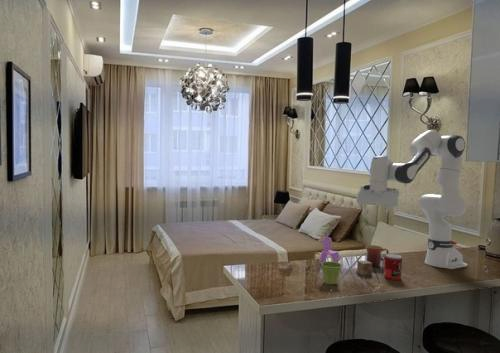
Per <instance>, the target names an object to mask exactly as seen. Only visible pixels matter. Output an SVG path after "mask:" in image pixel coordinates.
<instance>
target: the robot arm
mask: <svg viewBox="0 0 500 353" xmlns="http://www.w3.org/2000/svg"><path fill="white" fill-rule="evenodd" d="M465 147H466V141H465V139H464V138H463V137H462V136H460V135H456V134H451V135H450V134H449V135H447V134H446V135H441V133H440V132H439V131H437V130H436V129H429V130H426V131H424V132H423V133H421V134H420V135H418V136H416V138H415V139H414V140H412V142H410V144H409V146H408V148H409V153H410V155H411V156H412V157H413V158H412V159H411V160H410V161H409V162H405V163H404V162H402V163H401V162H399V163H397V162H394V161H392V160H391V159H390V158H389V156H388V155H375V156H374V157H372V158H371V163H370V170H369V175H370V178H369V180H368V183H365V184H361V185H360V186H359V191H357V195H356V200H355V201H356V203H357V204H358V205H362V208H363V209H364V214H366V215H367V214H369V209H367V208H366V207H367V205H369V206H378V207H379V206H381V207H386V210H385V211H383V216H388V212H389V211H390V210H391V207H394V208H395V207H396V208H397V207H398V206H399V195H400V190H399V189H397V188H396V187H395V188H393V187H388V183H389V182H393V183H394V182H395V183H400V184H411V183H412V182H413V181H414V180H415V178H416V176H417V174H418V173H419V172H420V170H421V169H422V168H423V167H424V166H425V164H426V163H427V162H428V161H429V160H430V158H431V157H436V156H438V157H440V158H441V162H440V164H439V167H438V172H437V176H436V180H435V181H436V182H435V183H436V185H437V186H438V187H439V188H440V189H441V190H442V194H438V193H426V194H423V195H421V197H420V198H419V199H418V206H419V209H420V210H422V212H423V213H424V214H425V216H426V219H427V221H428V228H429V229H428V233H429V234H428V239H427V252H426V255H425V258H424V259H425V260H424V264H426V265H428V266H432V267H437V268H444V269H449V270H455V269H460V268H465V267H466V268H467V267H468V263H466V262H464V261H463V257H464V256H463V255H462V253H461V252H459V251H458V249H456V248H455V247H454V246H456V245H457V244H458V242H457V241H456V240H452V225H451V224H450V223H449V222H448V221H447V220H445V217H444V216H449V217H461V216H463V215H464V214H465V213H466V211H467V207H468V206H467V205H468V204H467V202H466V200H465V199H464V198H463V197H462V196H461V194H460V190H459V185H460V184H459V183H460V178H461V177H460V176H461V173H462V168H463V156H462V155H463V153H464V150H465V149H466V148H465Z"/></svg>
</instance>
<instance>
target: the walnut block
mask: <svg viewBox="0 0 500 353" xmlns="http://www.w3.org/2000/svg"><path fill="white" fill-rule="evenodd" d="M372 269H373V267H372V263H371V262H368V261H366V260H357V269H356V270H357V271H356V273H357V274H359V275H362V276H372V271H373V270H372Z"/></svg>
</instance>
